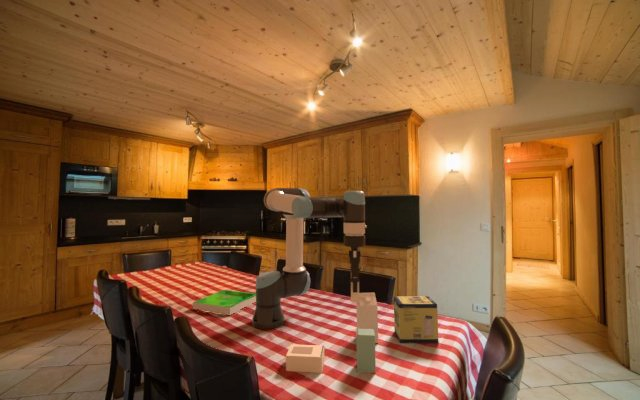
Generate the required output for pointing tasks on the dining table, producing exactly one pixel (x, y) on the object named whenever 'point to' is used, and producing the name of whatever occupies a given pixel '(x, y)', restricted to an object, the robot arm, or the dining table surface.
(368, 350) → the pale green block
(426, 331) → the protein box
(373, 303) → the milk carton
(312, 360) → the block
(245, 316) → the dining table surface
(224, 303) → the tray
